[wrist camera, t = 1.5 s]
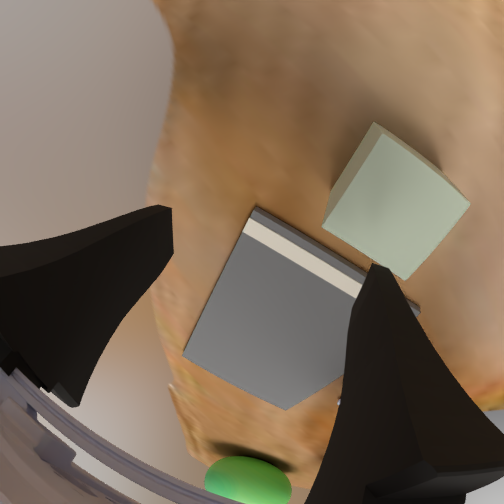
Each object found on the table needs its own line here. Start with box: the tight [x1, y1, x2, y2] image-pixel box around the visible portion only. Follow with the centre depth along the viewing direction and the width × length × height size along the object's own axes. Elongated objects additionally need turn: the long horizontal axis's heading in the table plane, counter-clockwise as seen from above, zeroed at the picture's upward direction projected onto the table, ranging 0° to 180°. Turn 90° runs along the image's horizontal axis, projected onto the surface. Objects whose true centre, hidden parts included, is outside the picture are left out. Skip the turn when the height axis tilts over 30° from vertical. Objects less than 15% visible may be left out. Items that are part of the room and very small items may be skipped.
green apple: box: [205, 456, 292, 504], centre depth 43 cm, size 18×17×15 cm
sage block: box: [322, 121, 471, 281], centre depth 13 cm, size 5×5×5 cm
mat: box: [182, 206, 421, 410], centre depth 25 cm, size 14×21×1 cm, turn 156°
